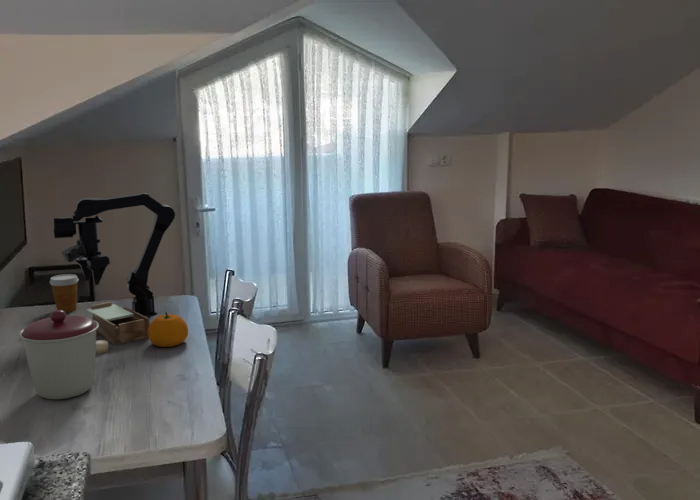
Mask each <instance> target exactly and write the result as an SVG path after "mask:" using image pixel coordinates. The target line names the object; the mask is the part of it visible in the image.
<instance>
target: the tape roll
mask: <svg viewBox="0 0 700 500" xmlns="http://www.w3.org/2000/svg"><path fill="white" fill-rule="evenodd" d="M108 351H109V341H108V340H106V339H98V340H96V354H99V355H100V354H104V353H106V352H108Z"/></svg>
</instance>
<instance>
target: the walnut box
mask: <svg viewBox="0 0 700 500" xmlns="http://www.w3.org/2000/svg"><path fill="white" fill-rule="evenodd" d="M123 309H125V310H127V311H129V312H131V313H133V314H134V316H131V317H126V318H121V319H116V320H112V321H108V320H106V319H104V318H102V317H100V316H98V315H97V314H95V313H93V314H91V316H92V320H94V321H96V322H98V324H99V327H98V329H97V330H96V335H98V336H99V337H102V338H104V340H106V341H108V342H110V343H111V344H114V346H117V345H123V344H126V343H130V342H134V341H135V342H136V341H139V340H144V339H149V337H148V327H149V325H150V318H149V316H143V315H141V314H139V313H137V312H135V311H133V310H132V308H130V307H127V306H125V307H123Z"/></svg>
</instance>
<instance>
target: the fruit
mask: <svg viewBox="0 0 700 500" xmlns="http://www.w3.org/2000/svg"><path fill="white" fill-rule="evenodd" d="M188 334H189V328H188V324H187V323H186V321H185V320H184V318H182V317H181V316H179V315H178V314H172V313H171V314H169V313H167V311H165V313H164V314H160V315H158V316H156V317H155V318H154V319H153V320H152V321H151V322H150V323H149V327H148V339H149V341H150V343H151V344H153V345H155V346H156V347H161V348H172V347H175V346H178V345H181V344H182V343H184V342H185V341H186V339H187V337H188Z"/></svg>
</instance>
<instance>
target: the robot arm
mask: <svg viewBox="0 0 700 500" xmlns="http://www.w3.org/2000/svg"><path fill="white" fill-rule="evenodd" d="M138 206H144V207H145V208H147V209H148V210H150V211H151V212H152V213H154V217H153V224H152V229H151V231H150V234H149V236H148V239H147V242H146V243H145V247H144V249H143V251H142V254H141V256H140V259H139V261H138V264H137V266H136V267H135V268H134V269H132V268H130V269H129V272H128V275H127V277H126V279H125V281H126V286H127V289H128V292H129V293H130V294H132V295H133V297H132V302H131V310H133V311H135V312H137V313H139V314H141V315H143V316H145V317H149V316H154V315H157V314H158V312H157V311H155V297H154V293H153V290H152V288H151V287H150V285H148V280H149V272H150V269H151V267H152V263H153V261H154V259H155V256H156V253H157V252H158V249H159V247H160V244H161V242H162V239H163V237H164V234H165V232H166V231H167V230H168V229H169V227H170V226H171V225H172V223H173V222H174V220H175V218H176V213H175V210H174V209H173V208H172V207H171V206H170V205H168V204H162V203H161V202H159V201H158V200H156V199H155V198H153V197H152V196H150V195H149V194H148V193H146V192H141V193H134V194H127V195H121V196H115V197H108V198H107V197H105V198H102V197H101V198H100V197H82V198H80V199H79V200H78V201H77V203H76V209H75V210H74V212H73V213H72V214H71V216H70V217H69V216H68V217H57V216H55V217H53V235H54V239H55V240H57V239H58V240H59V239H71V238H74V236H75V235H77V231H78V239H77V240H76V244H75V245H71V246H70V247H68V248H65V249H64V250H61V255H62V257H63V258H64V260H65V262H67V263H72V262H74V263H77V264H78V265H79V267H80V269H81V272H82V274H83V277H84V279H85V281H89V280H90V279H91V275H92V279H93V282H94V286H99V285H100V282H101V280H102V278H103V274H104V272H105V270H106V269H107V267H108V265H110V262H111V261H110V257H109V256H107V255H105V254H102V252H101V250H100V249H99V243H101V239H100V238H99V237H98V226H97V224H98V223H99V224H101V223H103V219H102V218H101V217H99V216H98V215H99V214H102V213H104V212H107V211H112V210H118V209H120V210H121V209H124V208H133V207H138ZM93 216H94V217H93ZM83 218H84V219H83ZM77 228H78V230H77Z"/></svg>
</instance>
